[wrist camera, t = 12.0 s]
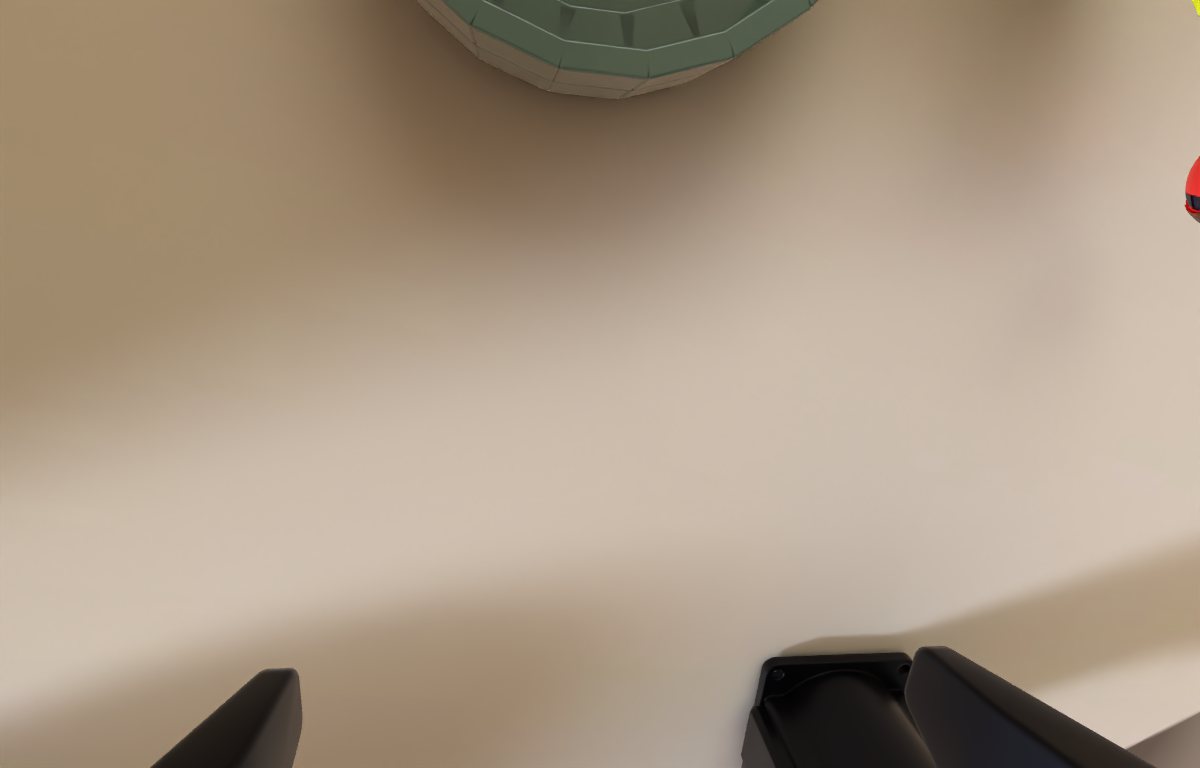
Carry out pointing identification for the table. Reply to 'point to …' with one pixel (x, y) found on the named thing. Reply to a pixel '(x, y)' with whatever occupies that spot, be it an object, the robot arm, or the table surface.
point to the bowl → (611, 39)
